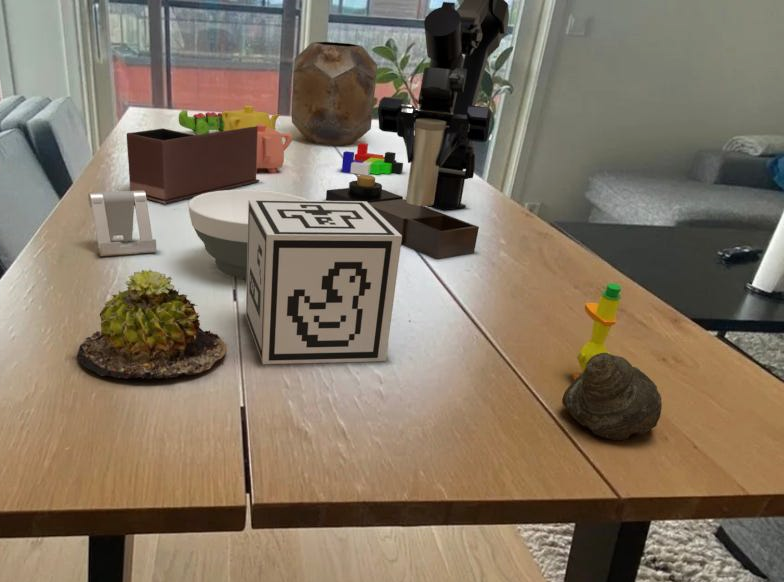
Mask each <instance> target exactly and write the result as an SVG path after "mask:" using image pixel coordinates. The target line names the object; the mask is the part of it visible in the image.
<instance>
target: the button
mask: <svg viewBox="0 0 784 582" xmlns="http://www.w3.org/2000/svg"><path fill="white" fill-rule="evenodd" d="M356 181H357V185H359V186H366V187H372V186H375V182H376V177H375V176H373V175H370V174H369V175H361V174H358V175H357V177H356Z"/></svg>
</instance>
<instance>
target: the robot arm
mask: <svg viewBox="0 0 784 582" xmlns="http://www.w3.org/2000/svg"><path fill="white" fill-rule="evenodd" d="M423 21H424V22H423V27H424V36H425V47H426V56H427V58H429V59H430V60H429V64H428V67H427V66H426V67H424V68H423V72H422V78H421V79H422V80H421V83H420V89H419V93H418V94H419V95H418V98H417V101H418V102H417V104H418V105H419V108H416V107H415V106H414V105H412V104H405V98H403V97H394V96H393V97H392V96H383V97H382V98H381V99H380V100H379V103H378V106H377V118H378V129H379V130H380V131H381V132H385V133H394V134H396V135H397V136H398V138H402V139H403V143H404V145H405V150H406V157H407V158H406V159H407V163H408V164H411V158H412V150H413V142H414V135H415V122H416V119H419V118H429V119H438V120H443V121H445V122H446V128H445V131H444V137H443V144H442V150H441V153H440V158H439V163H438V166H439V171H438V177H437V184H436V191H435V197H434V204H433V205H431V206H430V207H434V208H437V209H438V210H441V211H448V210H455V209H456V210H457V209H464V208H465V209H466V208H467V204H464V203H462V199H463V192H464V187H465V181H466V180H468V179H473V178H474V175H475V170H476V169H475V168H476V165H475V164H476V154H475V151H474V150H475V148H474V146H473V145H474V143H473V142H475V143H476V142H477V143H485V142H488V139H489V133H490V129H491V127H490V126H491V120H492V115H493V111H492V109H491V108H490V107H489V106H482V105H481V106H479V105H476V104H477V100H478V96H479V93H480V88H481V84H482V81H483V78H484V74H485V70H486V66H487V62H488V59H489V57H490V56H491V55H492V54H493V53H494V52H495V51H496V50H497V49H498V48H499V47H500V44H501V42H502V40H503V39H502V38H503V36H504V35H506V34H507V30H508V26H509V21H510V9H509V4H508V2H507V1H506V0H463V1H462V2H461V4H460V5H459V6H458V7H457V9H456V3H455V2H451V1H450V2H449V1H448V2H447V1H442V4H441V7H437V8H435V9H433V10H432V11H430V12H429V13H428V14H427V15H426V16H425V18H424V20H423Z"/></svg>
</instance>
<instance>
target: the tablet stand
mask: <svg viewBox="0 0 784 582" xmlns="http://www.w3.org/2000/svg"><path fill="white" fill-rule="evenodd" d="M87 198H88V199H87V200H88V205H89V207H90V208H91V209H92V216H93V223H94V226H95V227H94V228H95V234H96V240H97V246H98V253H99V256H100V257H111V256H123V255H124V256H125V255H138V254H151V253H157V240H156V239H153V231H152V227H151V220H150V212H149V207H148V199H146V193H145V191H144V190H142V191H130V190H123V191H121V190H119V191H99V192H98V191H96V192H95V191H94V192H88V194H87ZM134 213H136V221H137V227H138V233H139V240H136V241H135V245H125V246H122V244H121V241H113V238H114V237H117V236H118V237H119V236H122V237H123V238H122V239H123V242H131V241H132V240H133V233H134V231H133V230H134V216H135V215H134Z"/></svg>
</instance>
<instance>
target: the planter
mask: <svg viewBox="0 0 784 582" xmlns="http://www.w3.org/2000/svg"><path fill="white" fill-rule="evenodd" d="M293 61H294V62H293V74H292V94H291V95H292V96H291V113H290V115H291V123H292V125H293V126H294V127H295V128H296V129H297V130H298V131H299V133H301V135H302V136H303V137H304V138H305V140H306V141H309V142H311V143H313V144H315V145H322V146H332V147H333V146H334V147H343V146H348V145H353V144H355V143H357V142H358V140H360V139H361V138H362V137H363V136H364V135H366V134H367V133H368V132H369V131H371V129H372V122H373V121H372V120H373V112H374V104H375V103H374V102H375V92H376V83H377V75H378V63H376V61H375V60H374V59H373V57H372V56H371V55H370V54H369V52H368V51H367V50H366V49H365V47H363V46H362V45H359V44H354V43H346V42H335V41H334V42H333V41H312V42H311V43H310V44H309V45H307V46H306V47H305V48H304V49H303V50H302V51H301V52H300V53H299V54H298V55H297V56H295V58H294V60H293Z"/></svg>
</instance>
